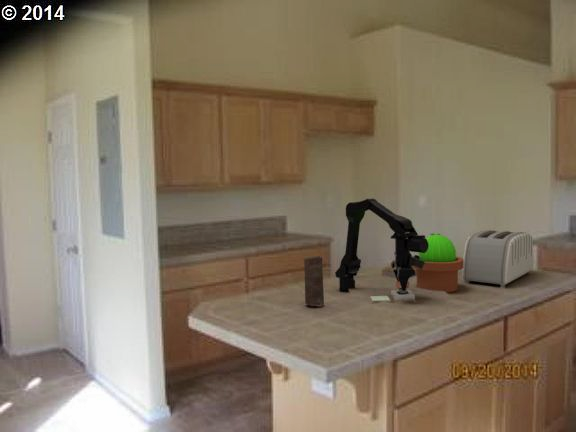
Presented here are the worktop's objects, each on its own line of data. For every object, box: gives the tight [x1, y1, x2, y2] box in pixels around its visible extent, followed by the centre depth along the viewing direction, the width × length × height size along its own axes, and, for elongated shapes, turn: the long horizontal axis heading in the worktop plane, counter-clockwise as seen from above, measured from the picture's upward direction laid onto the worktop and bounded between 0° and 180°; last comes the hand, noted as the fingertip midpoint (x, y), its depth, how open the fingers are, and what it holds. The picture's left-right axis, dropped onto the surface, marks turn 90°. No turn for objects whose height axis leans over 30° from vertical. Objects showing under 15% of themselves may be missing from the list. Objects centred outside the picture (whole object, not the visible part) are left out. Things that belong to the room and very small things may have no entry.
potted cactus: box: [412, 233, 464, 294], centre depth 236 cm, size 22×22×25 cm
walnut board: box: [366, 294, 418, 304], centre depth 215 cm, size 18×13×2 cm
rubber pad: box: [370, 296, 390, 301], centre depth 215 cm, size 7×7×1 cm
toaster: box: [461, 229, 534, 289], centre depth 257 cm, size 21×45×22 cm, turn 140°
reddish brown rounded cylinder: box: [395, 280, 410, 294], centre depth 214 cm, size 5×5×7 cm
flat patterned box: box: [379, 266, 417, 279], centre depth 275 cm, size 35×14×6 cm, turn 134°
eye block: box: [390, 289, 416, 301], centre depth 215 cm, size 8×8×2 cm
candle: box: [303, 255, 325, 308], centre depth 211 cm, size 8×7×20 cm
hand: (402, 289), depth 214 cm, fingers closed on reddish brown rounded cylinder, 5 cm apart
